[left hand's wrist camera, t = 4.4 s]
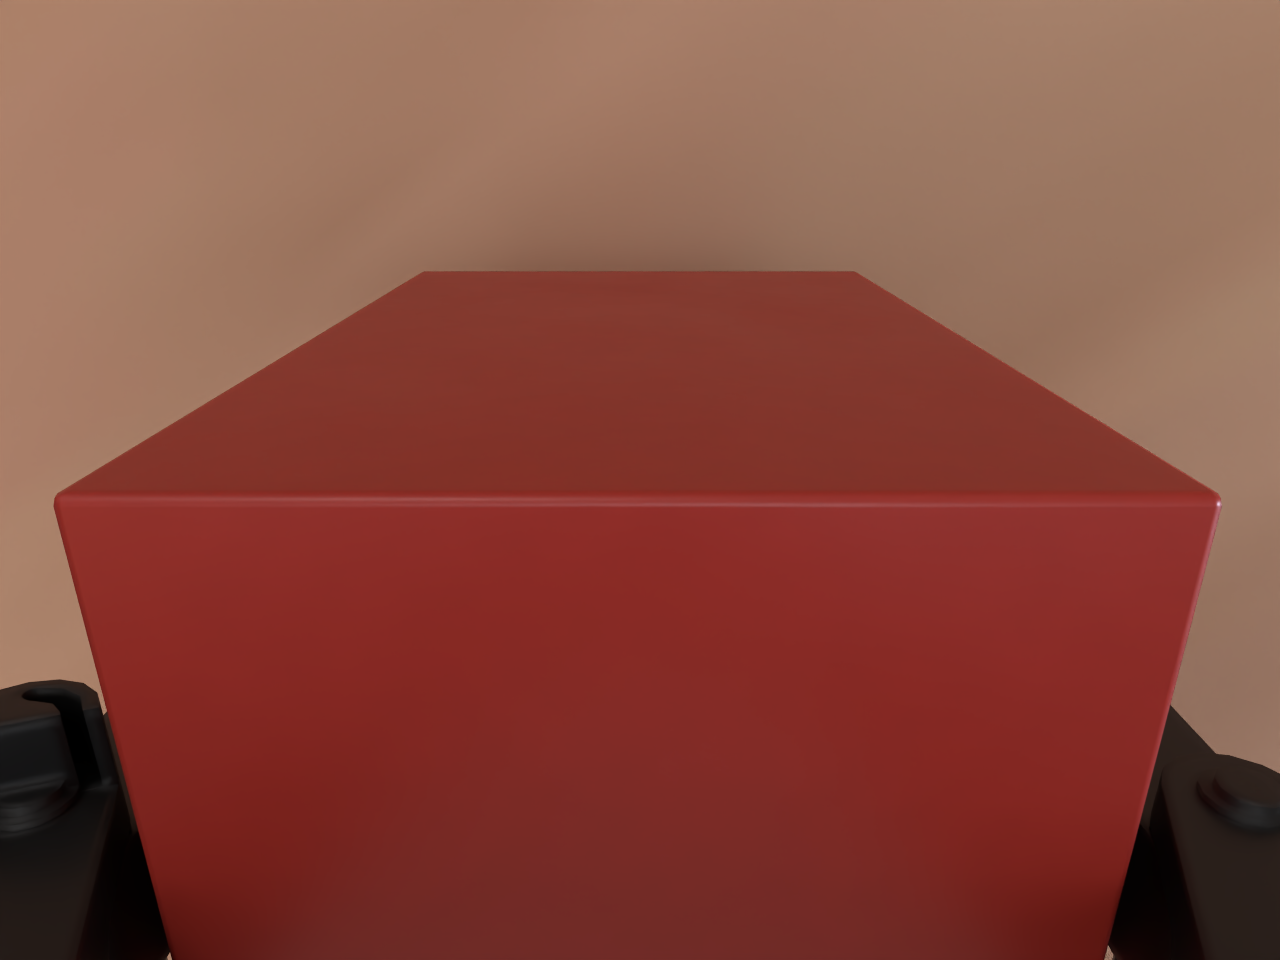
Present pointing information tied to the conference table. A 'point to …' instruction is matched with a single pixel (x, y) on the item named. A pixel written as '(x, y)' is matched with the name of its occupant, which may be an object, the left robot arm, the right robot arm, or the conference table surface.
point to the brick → (637, 633)
